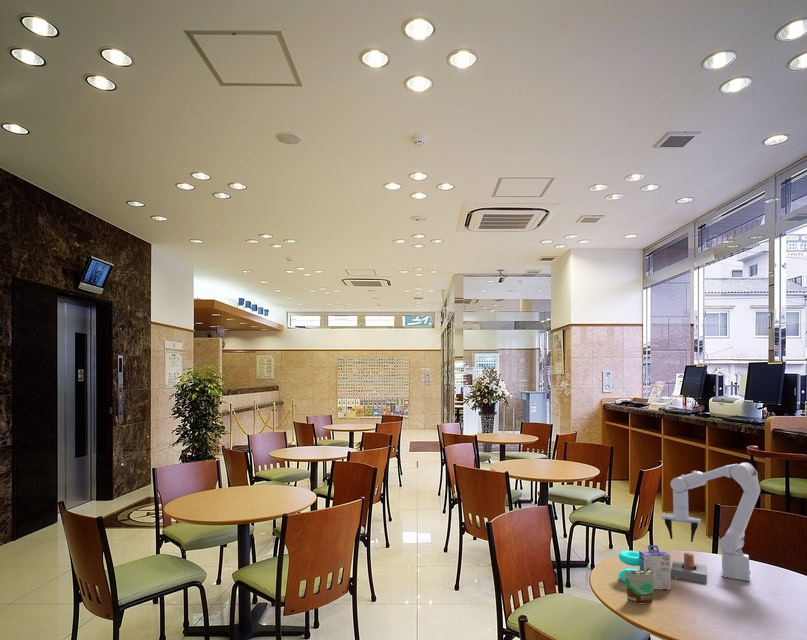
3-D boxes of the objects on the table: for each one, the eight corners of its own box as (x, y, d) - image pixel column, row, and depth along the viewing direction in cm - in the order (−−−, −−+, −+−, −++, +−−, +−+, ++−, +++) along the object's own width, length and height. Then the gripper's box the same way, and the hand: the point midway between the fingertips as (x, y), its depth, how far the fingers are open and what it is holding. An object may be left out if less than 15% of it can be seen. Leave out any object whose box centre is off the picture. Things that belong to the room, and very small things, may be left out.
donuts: (652, 557, 212) (629, 559, 209) (653, 584, 211) (629, 587, 209) (635, 548, 221) (613, 550, 219) (636, 575, 221) (613, 577, 218)
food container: (639, 608, 190) (638, 577, 191) (624, 601, 196) (624, 571, 196) (664, 601, 196) (663, 571, 197) (649, 595, 201) (648, 566, 202)
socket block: (706, 573, 224) (706, 565, 224) (706, 583, 213) (706, 575, 213) (673, 567, 229) (673, 560, 230) (671, 577, 219) (671, 569, 219)
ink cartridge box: (666, 584, 211) (665, 544, 213) (672, 590, 206) (671, 549, 207) (639, 583, 212) (638, 543, 213) (644, 589, 206) (643, 548, 208)
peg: (694, 574, 222) (693, 553, 223) (694, 577, 219) (693, 556, 220) (684, 573, 224) (683, 552, 224) (684, 575, 220) (683, 554, 221)
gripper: (661, 506, 237) (661, 539, 236) (700, 510, 230) (701, 545, 229) (662, 502, 243) (663, 535, 242) (700, 507, 236) (701, 540, 235)
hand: (681, 539), depth 236 cm, fingers open, 7 cm apart
